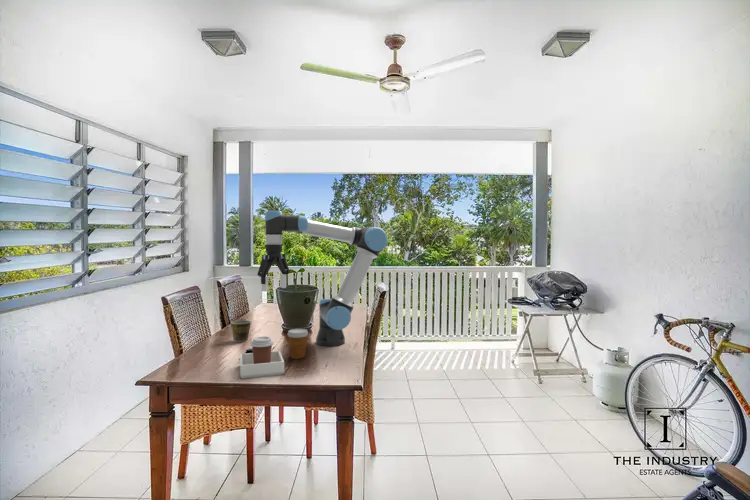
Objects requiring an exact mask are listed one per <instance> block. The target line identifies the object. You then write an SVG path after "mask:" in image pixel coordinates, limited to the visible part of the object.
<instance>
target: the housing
mask: <svg viewBox="0 0 750 500" xmlns="http://www.w3.org/2000/svg"><path fill="white" fill-rule="evenodd" d="M239 373H240V379H250V378H251V379H253V378H260V377H269V376H270V377H271V376H278V375H285V360H284V357H283V356H282V352H281V350H273V351H272V350H271V361H270V363H259V364H254V361H253V353H246V354H245V353H240V354H239Z"/></svg>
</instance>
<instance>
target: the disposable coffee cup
mask: <svg viewBox="0 0 750 500" xmlns="http://www.w3.org/2000/svg"><path fill="white" fill-rule="evenodd" d="M308 331H309V330H308V329H307V328H306V329H305V328H292V329H289V330H288V331H287V335H286V336H287V337H288V343H289V344H288V345H289V353H290V358H291V359H294V360H295V359H296V360H297V359H303V358H305V356H306V348H307V340H308V335H309V332H308Z"/></svg>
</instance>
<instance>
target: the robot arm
mask: <svg viewBox="0 0 750 500" xmlns="http://www.w3.org/2000/svg"><path fill="white" fill-rule="evenodd" d="M264 221H265V222H264V223H265V243H266V244H265V252H266V253H267V254H262V256H261V262H260V264H259V269H258V271H257V274H256V275H257V276H258V277H259V278H260V284H261V292H268V291H269V290H268V286H269V285H268V276H267V275H268V273H269V271H270V269H271V268H272V266H273V265H276V266H277V268H278V270H279V271H280V273H281V274H280V288H281V289H287V275H289V273H290V269H289V264H288V262H287V259H286V254H285V253H282V252H283V244H282V243H283V232H289V233H296V234H302V235H306V236H307V235H308V236H312V237H319V238H323V239H328V240H334V241H339V242H345V243H348V245H350V246H354V247H356V251H357V252H356V255H355V257H354V258H353V261H352V263H351V265H350V267H349V269H348V271H347V273H346V275H345V278H344V279H343V281H342V283H341V285H340V287H339V290H338V292H337V294H336V295H335V296H333V297H331V298H322V299H320V300H319V314H318V316H319V321H318V323H319V324H318V325H319V326H318V327H319V328H318V331H317V334H316V337H315V344H316V345H318V346H323V347H337V346H342V345H344V344H345V343H346V337H345V334H344V331H343V330H344V329H345V328H347V327H348V326H349V325H350V322H351V321H352V311H353V310H354V303H353V302H354V301H355V298H356V296H357V295H358V292H359V290H360V288H361V286H362V283H363V281H364V280H365V277H366V275H367V273H368V271H369V269H370V267H371V265H372V262H373V260H374V259H377V258H378V256H379V254H380V253H381V251H383V250H384V248H386V247H387V245H388V235H387V233H386V231H385V230H384V229H382V228H381V227H377V226H369V227H355V226H353V227H351V228H350V227H346V226H340V225H336V224H331V223H325V222H320V221H316V220H315V221H314V220H310V219H309V217H308V216H306V215H295V214H294V215H284V214H283V211H281V210H267V211H266V212H265V220H264Z"/></svg>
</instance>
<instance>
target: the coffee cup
mask: <svg viewBox="0 0 750 500" xmlns="http://www.w3.org/2000/svg"><path fill="white" fill-rule="evenodd" d="M273 345H274V340H272V338H271V337H270V336H263V335H262V336H257V337H254V338H253V340H252V341H251V342H250V346H251V349H253V361H254V364H259V363H270V361H271V351H272V347H273Z"/></svg>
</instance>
